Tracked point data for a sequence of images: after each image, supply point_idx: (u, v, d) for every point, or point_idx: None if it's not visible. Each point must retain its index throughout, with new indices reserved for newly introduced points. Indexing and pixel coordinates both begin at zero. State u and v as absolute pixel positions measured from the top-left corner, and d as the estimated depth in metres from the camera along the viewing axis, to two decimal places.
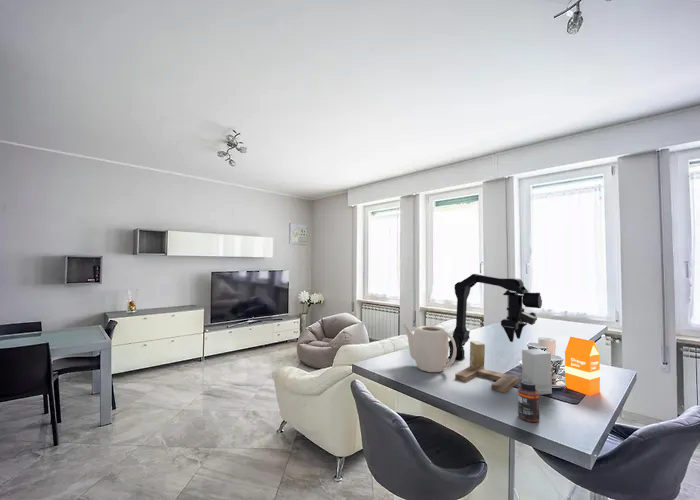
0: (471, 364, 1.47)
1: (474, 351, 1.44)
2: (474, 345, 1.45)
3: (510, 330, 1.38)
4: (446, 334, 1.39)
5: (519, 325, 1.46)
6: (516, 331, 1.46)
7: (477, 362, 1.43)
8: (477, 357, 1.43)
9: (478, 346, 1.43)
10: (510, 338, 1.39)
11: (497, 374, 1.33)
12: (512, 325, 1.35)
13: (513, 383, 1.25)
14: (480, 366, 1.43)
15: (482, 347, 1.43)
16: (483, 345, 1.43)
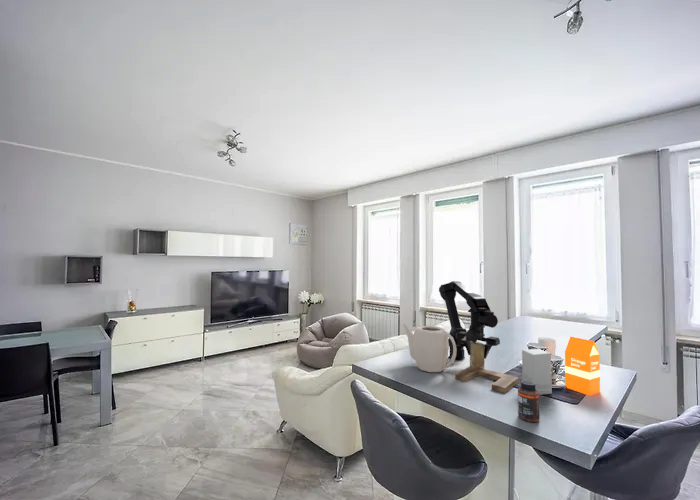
0: (471, 364, 1.47)
1: (474, 351, 1.44)
2: (474, 345, 1.45)
3: None
4: (446, 334, 1.39)
5: None
6: None
7: (477, 362, 1.43)
8: (477, 357, 1.43)
9: (478, 346, 1.43)
10: None
11: (497, 374, 1.33)
12: None
13: (513, 383, 1.25)
14: (480, 366, 1.43)
15: (482, 347, 1.43)
16: (483, 345, 1.43)
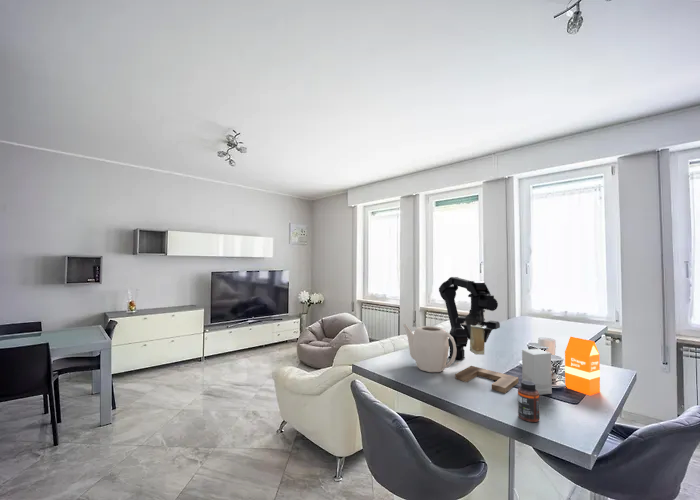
0: (471, 348, 1.47)
1: (474, 335, 1.45)
2: (474, 329, 1.45)
3: None
4: (446, 334, 1.39)
5: None
6: None
7: (477, 346, 1.43)
8: (477, 341, 1.43)
9: (478, 330, 1.44)
10: None
11: (497, 374, 1.33)
12: None
13: (513, 383, 1.25)
14: (480, 350, 1.43)
15: (482, 331, 1.44)
16: (483, 329, 1.44)
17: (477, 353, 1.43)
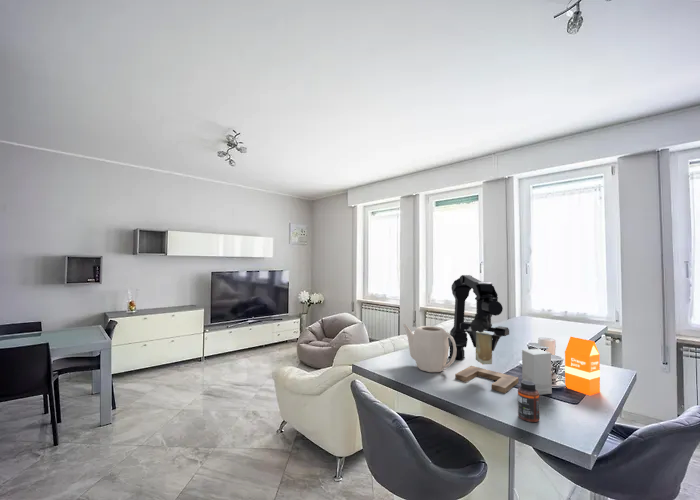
0: (477, 357, 1.32)
1: (480, 342, 1.30)
2: (480, 336, 1.30)
3: None
4: (446, 334, 1.39)
5: None
6: None
7: (484, 355, 1.28)
8: (484, 349, 1.28)
9: (485, 337, 1.29)
10: None
11: (497, 374, 1.33)
12: None
13: (513, 383, 1.25)
14: (487, 359, 1.28)
15: (489, 338, 1.29)
16: (490, 336, 1.29)
17: (484, 363, 1.28)
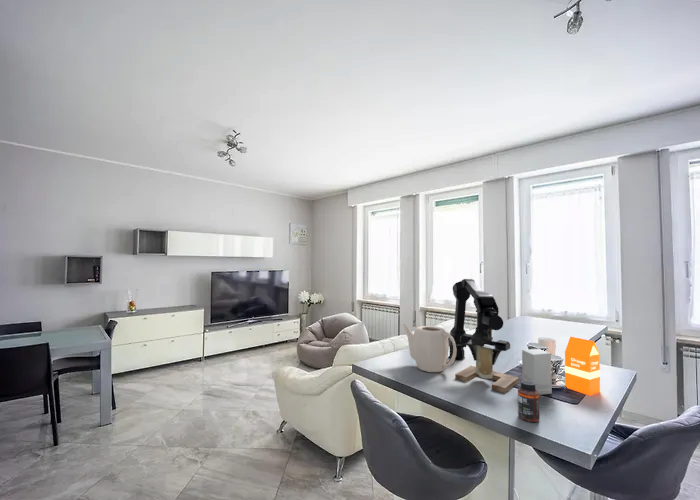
0: (477, 371, 1.31)
1: (481, 356, 1.28)
2: (481, 350, 1.28)
3: None
4: (446, 334, 1.39)
5: None
6: None
7: (484, 369, 1.27)
8: (484, 363, 1.27)
9: (485, 351, 1.27)
10: None
11: (497, 374, 1.33)
12: None
13: (513, 383, 1.25)
14: (488, 373, 1.27)
15: (490, 352, 1.27)
16: (491, 350, 1.27)
17: (484, 377, 1.27)
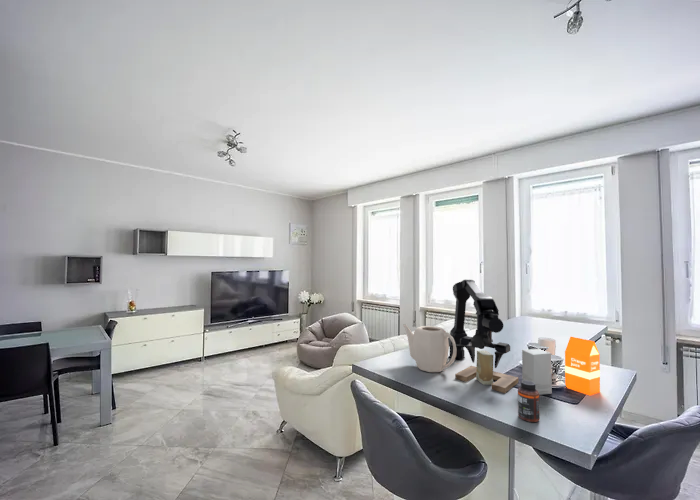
0: (478, 377, 1.30)
1: (481, 362, 1.28)
2: (481, 355, 1.28)
3: None
4: (446, 334, 1.39)
5: None
6: None
7: (485, 375, 1.26)
8: (485, 369, 1.26)
9: (486, 357, 1.27)
10: None
11: (497, 374, 1.33)
12: None
13: (513, 383, 1.25)
14: (488, 379, 1.26)
15: (490, 358, 1.27)
16: (491, 356, 1.27)
17: (484, 383, 1.26)
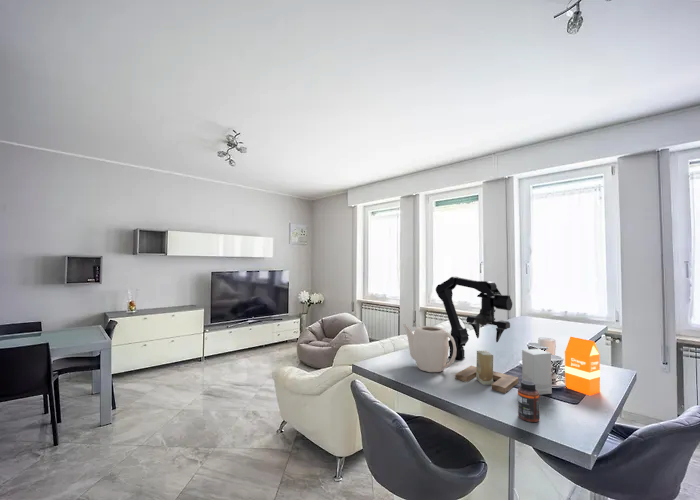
0: (478, 377, 1.30)
1: (481, 362, 1.28)
2: (481, 356, 1.28)
3: None
4: (446, 334, 1.39)
5: None
6: None
7: (485, 375, 1.26)
8: (485, 369, 1.26)
9: (486, 357, 1.27)
10: None
11: (497, 374, 1.33)
12: None
13: (513, 383, 1.25)
14: (488, 379, 1.26)
15: (490, 358, 1.27)
16: (491, 356, 1.27)
17: (484, 383, 1.26)
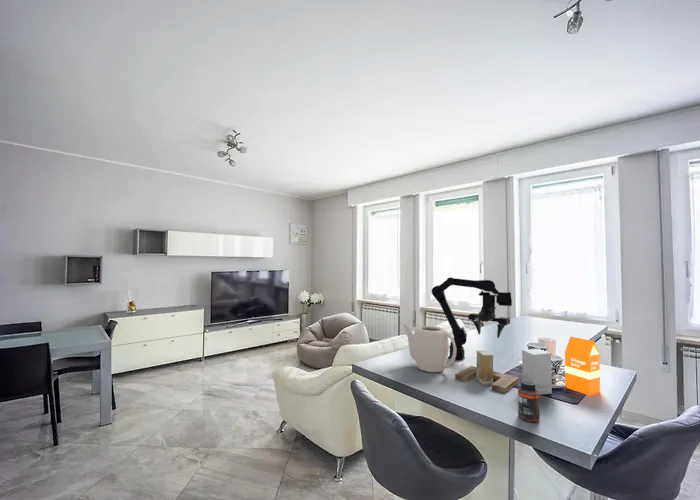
0: (478, 377, 1.30)
1: (481, 362, 1.28)
2: (481, 356, 1.28)
3: None
4: (446, 334, 1.39)
5: None
6: None
7: (485, 375, 1.26)
8: (485, 369, 1.26)
9: (486, 357, 1.27)
10: None
11: (497, 374, 1.33)
12: None
13: (513, 383, 1.25)
14: (488, 379, 1.26)
15: (490, 358, 1.27)
16: (491, 356, 1.27)
17: (484, 383, 1.26)
